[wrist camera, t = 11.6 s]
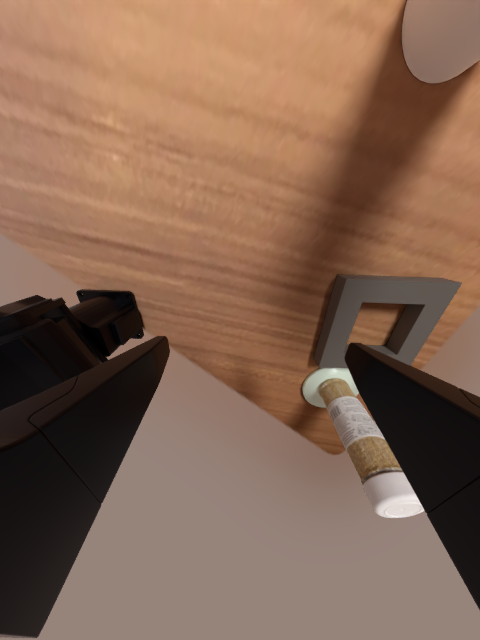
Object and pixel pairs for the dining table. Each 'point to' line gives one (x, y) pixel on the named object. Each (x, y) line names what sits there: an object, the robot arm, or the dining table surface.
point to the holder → (351, 290)
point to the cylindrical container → (440, 38)
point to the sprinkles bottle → (369, 453)
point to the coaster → (322, 375)
